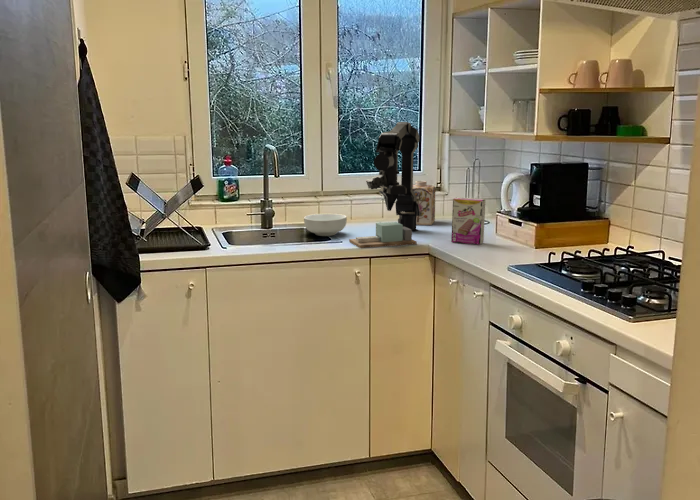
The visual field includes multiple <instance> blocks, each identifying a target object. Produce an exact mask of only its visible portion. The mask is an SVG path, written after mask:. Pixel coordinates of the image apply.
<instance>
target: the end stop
mask: <svg viewBox="0 0 700 500" xmlns="http://www.w3.org/2000/svg"><path fill="white" fill-rule="evenodd" d="M412 234H413V231H412V230H411V229H409V228H406V227H403V235H402V236H403V240H404V241H412V240H413V239H412V237H413V236H412Z"/></svg>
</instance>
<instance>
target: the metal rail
mask: <svg viewBox="0 0 700 500" xmlns="http://www.w3.org/2000/svg"><path fill="white" fill-rule="evenodd" d="M355 239H356V242H358V243H363V242H379V241H381V237H380V236H376V235H371V236H356V237H355ZM402 240H403V236H402Z"/></svg>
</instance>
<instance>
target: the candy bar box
mask: <svg viewBox="0 0 700 500" xmlns="http://www.w3.org/2000/svg"><path fill="white" fill-rule="evenodd" d="M451 215H452V217H451V243H455V244H456V243H458V244H467V245H469V244H471V245H477V246H478V245H482V244H484V242H485V241H484V240H485V218H486V217H485V215H486V198H474V197H473V198H470V197H458V196H457V197H454V198H452V213H451Z"/></svg>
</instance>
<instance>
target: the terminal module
mask: <svg viewBox="0 0 700 500" xmlns="http://www.w3.org/2000/svg"><path fill="white" fill-rule="evenodd" d="M402 235H403V225H402V224H400V223H398V221H392V222H389V221H388V222H376V223H375V236H380V237H381V242H394V241H402Z"/></svg>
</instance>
